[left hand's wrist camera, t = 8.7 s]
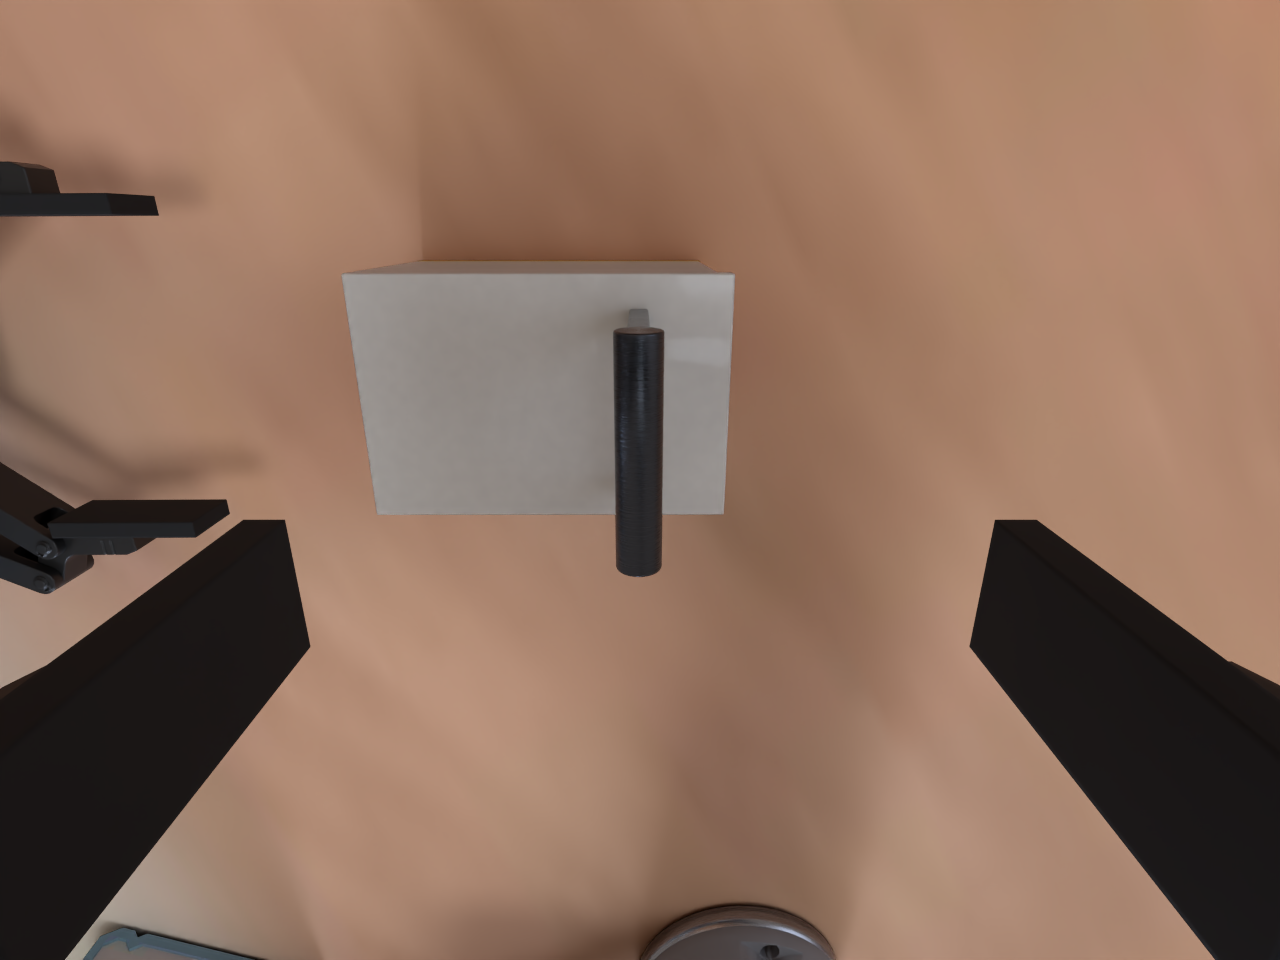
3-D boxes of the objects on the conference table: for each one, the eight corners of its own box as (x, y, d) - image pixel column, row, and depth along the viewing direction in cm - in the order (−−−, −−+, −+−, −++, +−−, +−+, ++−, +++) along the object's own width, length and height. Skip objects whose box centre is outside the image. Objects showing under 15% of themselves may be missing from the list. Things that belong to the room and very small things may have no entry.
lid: (732, 271, 25) (772, 291, 18) (721, 507, 28) (751, 608, 21) (349, 271, 25) (225, 291, 18) (383, 507, 28) (291, 609, 21)
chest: (698, 260, 34) (718, 271, 25) (693, 442, 37) (709, 507, 28) (422, 260, 34) (349, 271, 25) (442, 442, 37) (384, 507, 28)
